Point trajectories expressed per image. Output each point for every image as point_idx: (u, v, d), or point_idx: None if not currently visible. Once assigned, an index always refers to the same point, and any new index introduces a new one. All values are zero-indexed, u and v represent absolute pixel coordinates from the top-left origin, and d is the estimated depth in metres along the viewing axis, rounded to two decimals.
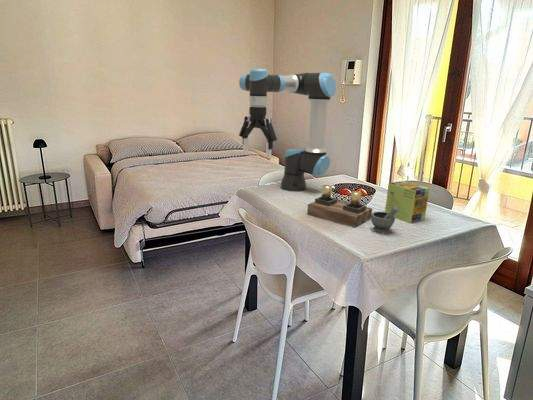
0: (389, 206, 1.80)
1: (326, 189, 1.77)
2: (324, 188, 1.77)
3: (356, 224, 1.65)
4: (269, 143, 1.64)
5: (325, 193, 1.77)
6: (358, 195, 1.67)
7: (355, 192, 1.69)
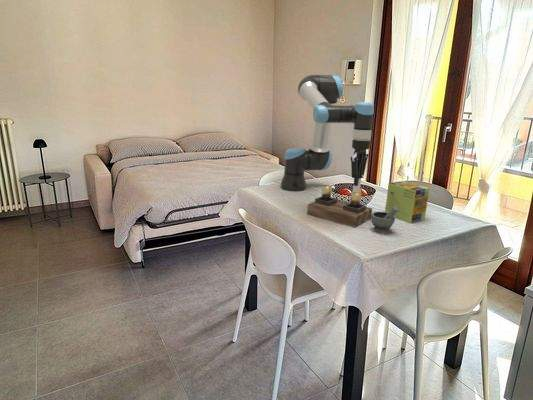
0: (389, 206, 1.80)
1: (326, 189, 1.77)
2: (324, 188, 1.77)
3: (356, 224, 1.65)
4: None
5: (325, 193, 1.77)
6: (358, 195, 1.68)
7: None
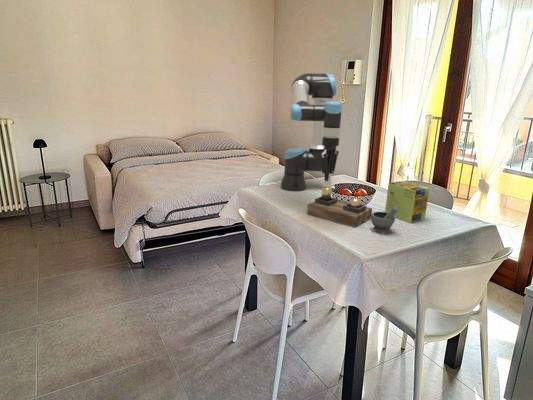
0: (389, 206, 1.80)
1: (326, 190, 1.77)
2: (324, 189, 1.77)
3: (356, 224, 1.65)
4: None
5: (325, 194, 1.77)
6: (357, 202, 1.68)
7: (354, 199, 1.70)
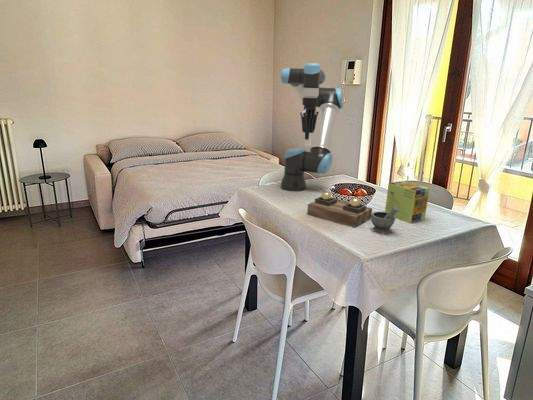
0: (389, 206, 1.80)
1: (326, 195, 1.77)
2: (324, 194, 1.78)
3: (356, 224, 1.65)
4: None
5: (325, 199, 1.78)
6: (357, 202, 1.68)
7: (354, 199, 1.70)
